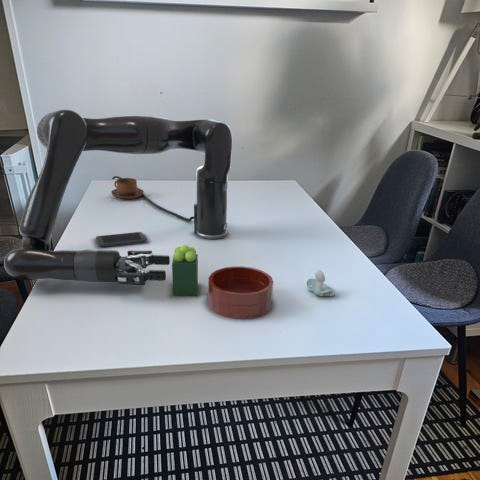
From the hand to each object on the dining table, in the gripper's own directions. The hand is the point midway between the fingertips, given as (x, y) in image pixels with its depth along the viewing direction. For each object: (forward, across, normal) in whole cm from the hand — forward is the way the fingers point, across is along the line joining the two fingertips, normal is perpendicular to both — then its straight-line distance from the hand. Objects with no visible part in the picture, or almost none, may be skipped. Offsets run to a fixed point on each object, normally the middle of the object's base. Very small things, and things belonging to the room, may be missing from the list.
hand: (167, 267), depth 107 cm
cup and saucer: (-23, +77, +6) cm, 81 cm away
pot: (+17, -6, +6) cm, 19 cm away
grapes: (+4, 0, +6) cm, 7 cm away
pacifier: (+37, 0, +6) cm, 38 cm away
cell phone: (-17, +31, +5) cm, 36 cm away
